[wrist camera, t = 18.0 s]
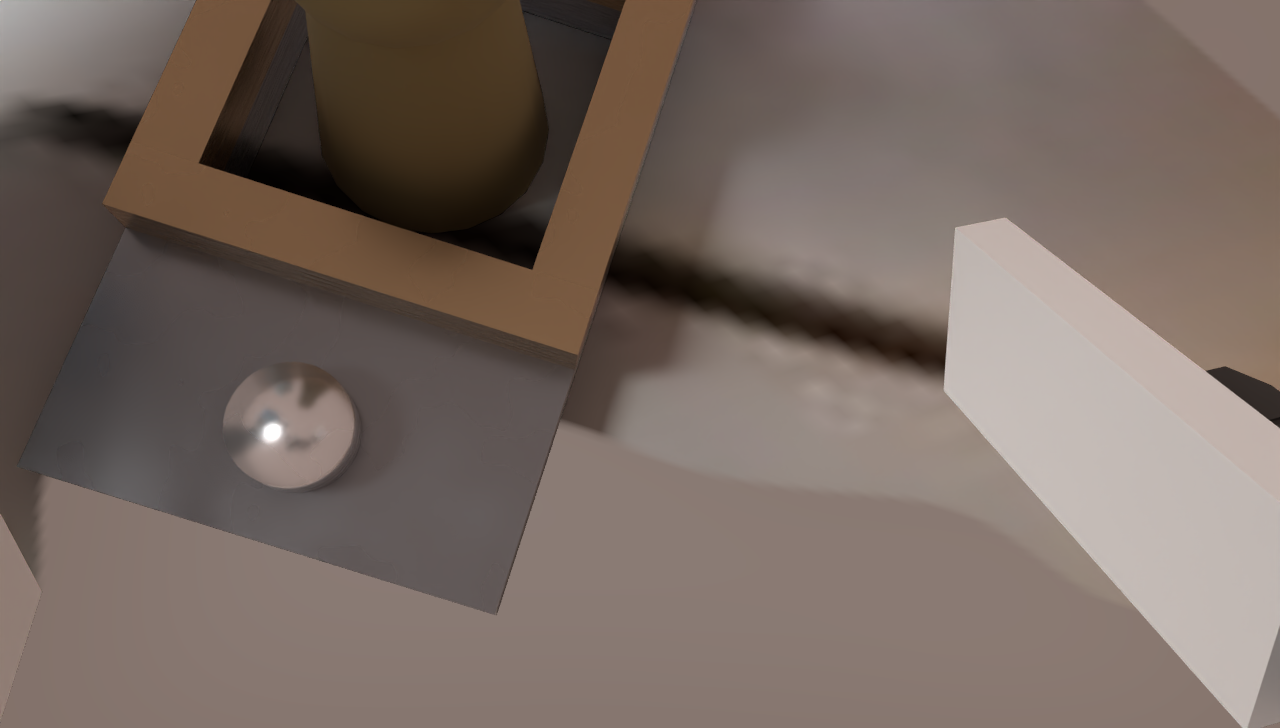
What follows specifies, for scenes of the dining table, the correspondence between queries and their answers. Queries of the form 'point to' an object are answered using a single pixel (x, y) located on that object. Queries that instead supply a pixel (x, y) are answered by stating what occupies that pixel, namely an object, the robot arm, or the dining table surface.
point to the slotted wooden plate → (338, 323)
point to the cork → (427, 107)
